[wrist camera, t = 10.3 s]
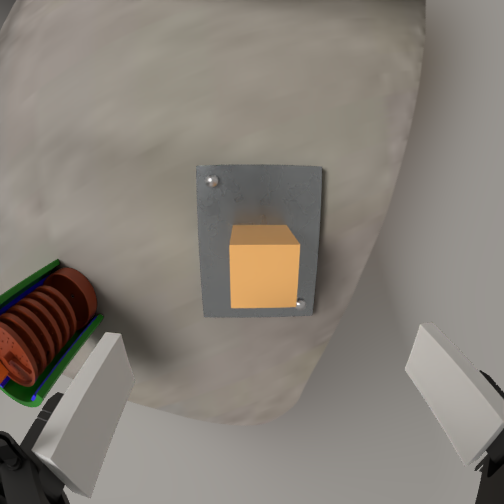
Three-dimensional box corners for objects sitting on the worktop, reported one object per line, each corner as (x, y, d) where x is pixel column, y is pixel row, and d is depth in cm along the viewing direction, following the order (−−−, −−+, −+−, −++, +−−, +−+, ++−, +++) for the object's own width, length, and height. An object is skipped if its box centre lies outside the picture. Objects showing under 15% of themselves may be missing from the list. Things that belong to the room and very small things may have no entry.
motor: (114, 300, 30) (23, 420, 11) (90, 342, 32) (19, 448, 13) (55, 249, 28) (-62, 325, 9) (37, 296, 30) (-52, 377, 11)
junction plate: (197, 165, 26) (186, 165, 21) (319, 166, 27) (336, 167, 21) (204, 312, 31) (198, 340, 26) (310, 311, 31) (321, 337, 26)
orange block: (232, 225, 27) (229, 244, 21) (286, 224, 27) (300, 244, 21) (233, 275, 29) (231, 308, 22) (284, 274, 29) (296, 307, 22)
